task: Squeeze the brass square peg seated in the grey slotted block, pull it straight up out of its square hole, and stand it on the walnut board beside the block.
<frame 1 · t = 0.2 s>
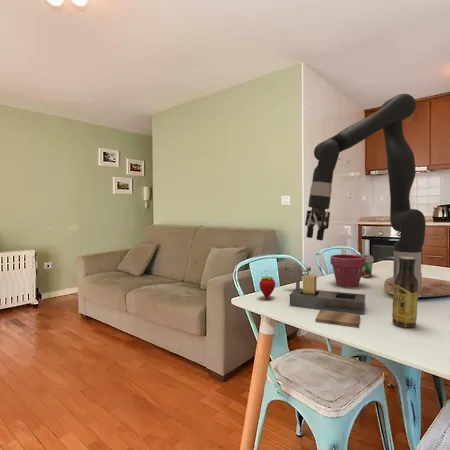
hand: (314, 238, 121), 23 cm above the table, tool pointing down, fingers open, 8 cm apart
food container: (366, 276, 160), on the table
mechanical component: (297, 290, 135), on the table
walnut board: (338, 319, 100), on the table
plant pot: (347, 285, 142), on the table
strawberry: (267, 298, 124), on the table
brass peg: (309, 303, 116), resting in grey slotted block
sauce bottle: (404, 325, 95), on the table
grey slotted block: (327, 305, 113), on the table
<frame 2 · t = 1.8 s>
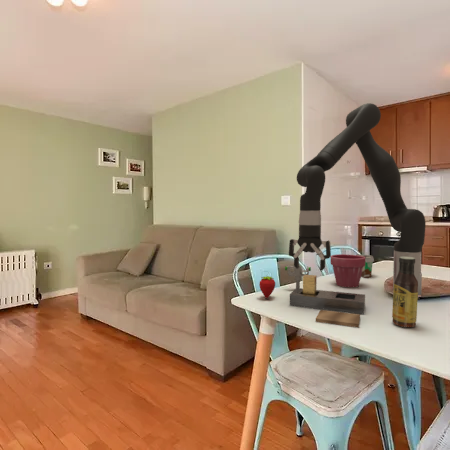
hand: (309, 269, 115), 12 cm above the table, tool pointing down, fingers open, 8 cm apart
nothing on the table moved.
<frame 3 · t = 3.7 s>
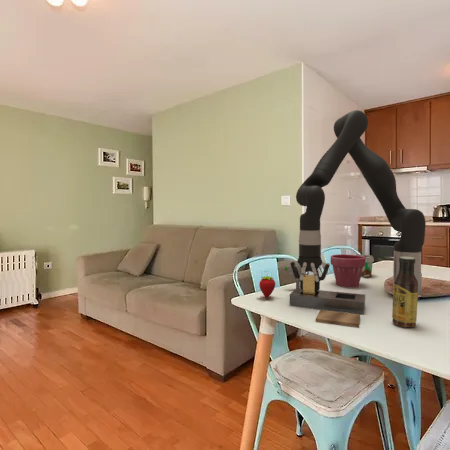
hand: (309, 290, 116), 5 cm above the table, tool pointing down, fingers closed on brass peg, 4 cm apart
brass peg: (309, 303, 116), resting in grey slotted block, touching gripper
everything else where it was.
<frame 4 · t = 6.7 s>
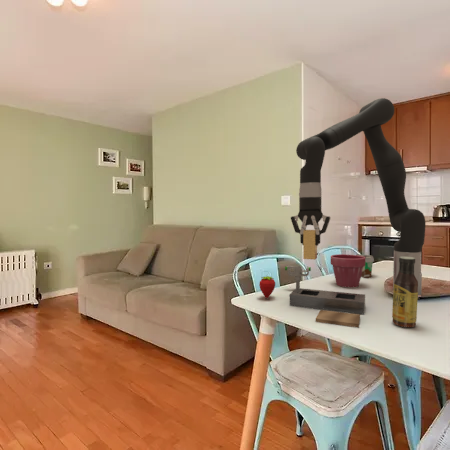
hand: (310, 244, 115), 21 cm above the table, tool pointing down, fingers closed on brass peg, 4 cm apart
brass peg: (310, 258, 115), point 16 cm above the table, touching gripper
everything else where it was.
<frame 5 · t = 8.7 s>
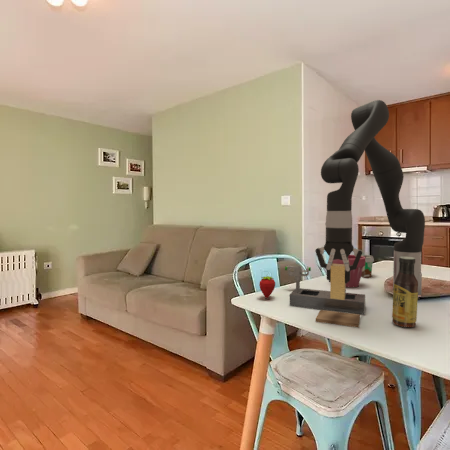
hand: (338, 282, 99), 12 cm above the table, tool pointing down, fingers closed on brass peg, 4 cm apart
brass peg: (338, 297, 99), point 7 cm above the table, touching gripper
everything else where it was.
when the fingers open (7 cm above the table, at t = 10.1 s): brass peg stays where it is, resting on walnut board.
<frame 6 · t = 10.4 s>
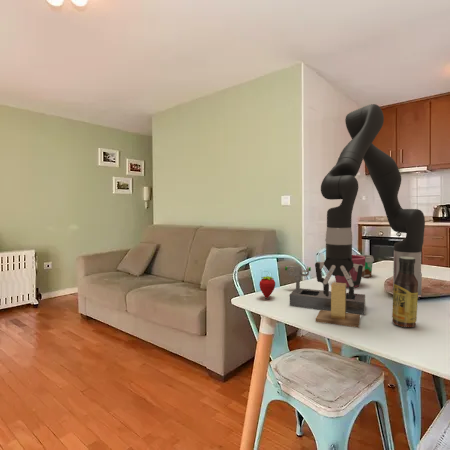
hand: (338, 296, 99), 7 cm above the table, tool pointing down, fingers open, 6 cm apart
brass peg: (338, 316, 99), point 1 cm above the table, touching walnut board
everything else where it was.
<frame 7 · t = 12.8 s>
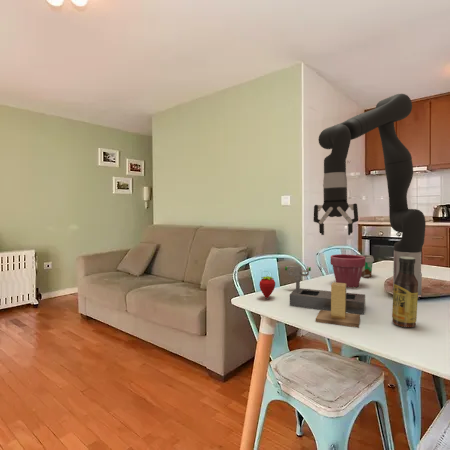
hand: (335, 234, 110), 25 cm above the table, tool pointing down, fingers open, 8 cm apart
nothing on the table moved.
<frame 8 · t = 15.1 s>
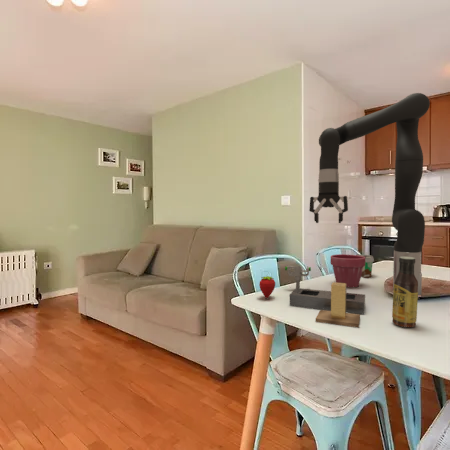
hand: (328, 222, 128), 28 cm above the table, tool pointing down, fingers open, 8 cm apart
nothing on the table moved.
at the end: brass peg inside the target area on the walnut board (0.1 cm from its centre), point 1.0 cm above the walnut board's base; brass peg tilted 0°; the gripper is holding nothing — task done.
